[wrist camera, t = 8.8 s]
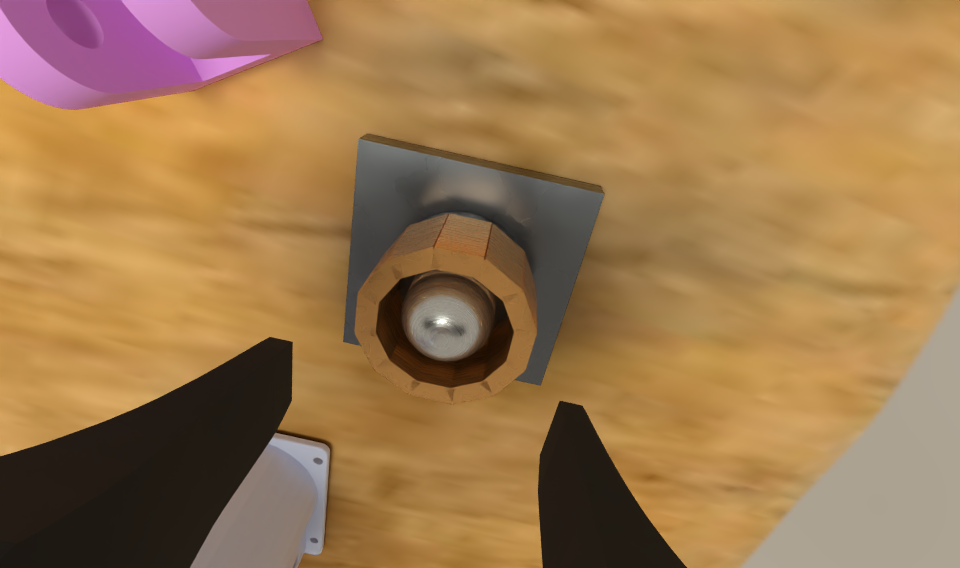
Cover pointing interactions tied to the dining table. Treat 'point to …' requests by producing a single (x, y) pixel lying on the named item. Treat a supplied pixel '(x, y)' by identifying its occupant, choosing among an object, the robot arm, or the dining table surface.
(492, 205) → the stand
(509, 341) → the wooden ring
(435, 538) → the dining table surface
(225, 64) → the bracket
